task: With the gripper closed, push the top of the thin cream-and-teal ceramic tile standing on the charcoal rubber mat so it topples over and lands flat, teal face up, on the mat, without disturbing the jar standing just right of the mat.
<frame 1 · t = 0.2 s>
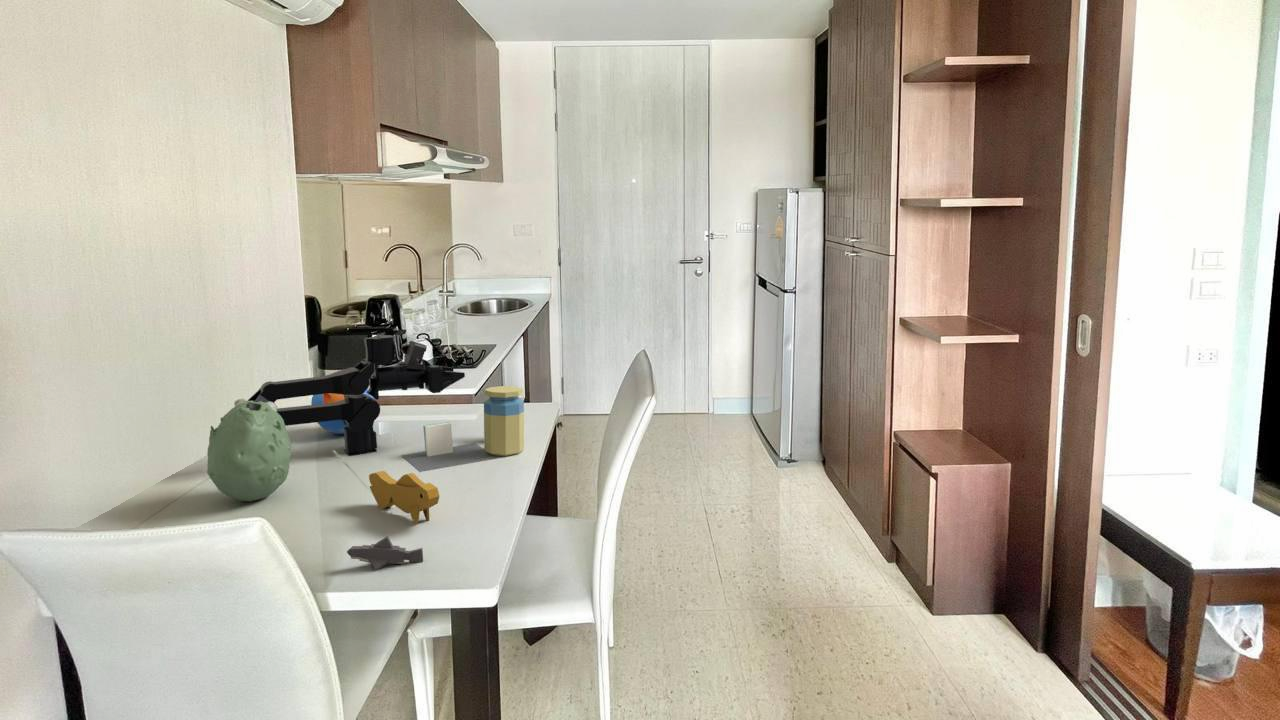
hand: (458, 372, 220), 16 cm above the table, tool horizontal, fingers open, 9 cm apart
mat: (448, 458, 203), on the table
decorative fish: (405, 516, 166), on the table
tile: (439, 453, 206), resting on mat
green rounded lump: (255, 499, 178), on the table
animal figurine: (386, 566, 142), on the table
treat dispenser ball: (345, 433, 230), on the table
jar: (504, 453, 205), on the table, touching mat
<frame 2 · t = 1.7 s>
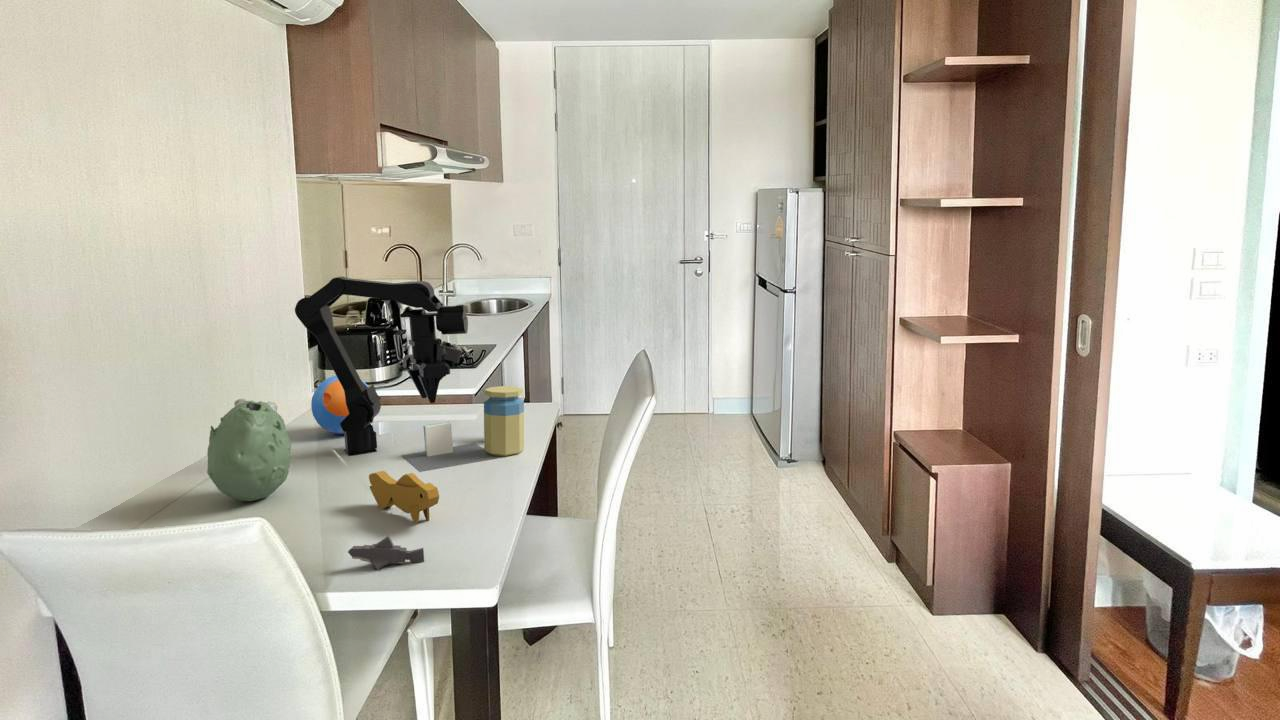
hand: (428, 400, 209), 12 cm above the table, tool pointing down, fingers open, 6 cm apart
nothing on the table moved.
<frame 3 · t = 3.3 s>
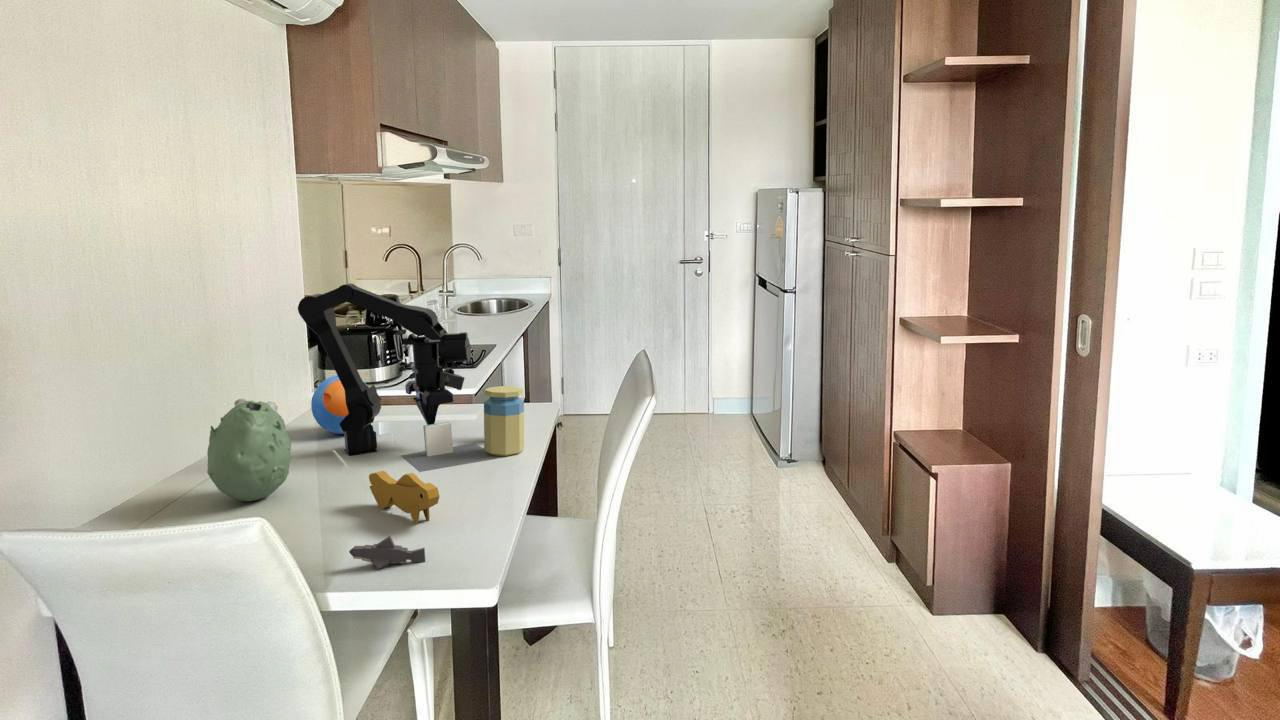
hand: (431, 427, 210), 6 cm above the table, tool pointing down, fingers closed
nothing on the table moved.
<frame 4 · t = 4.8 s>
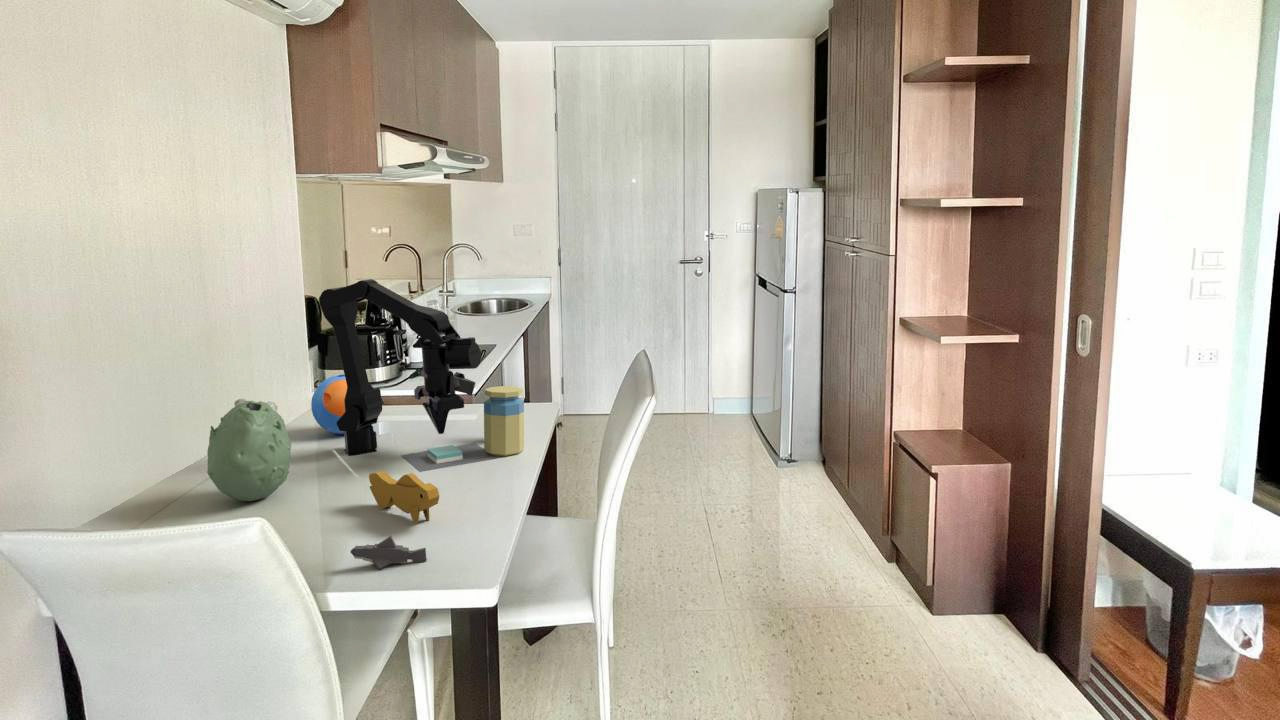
hand: (441, 433, 203), 6 cm above the table, tool pointing down, fingers closed
tile: (440, 450, 205), point 1 cm above the table, tilted 90°, touching mat
everything else where it was.
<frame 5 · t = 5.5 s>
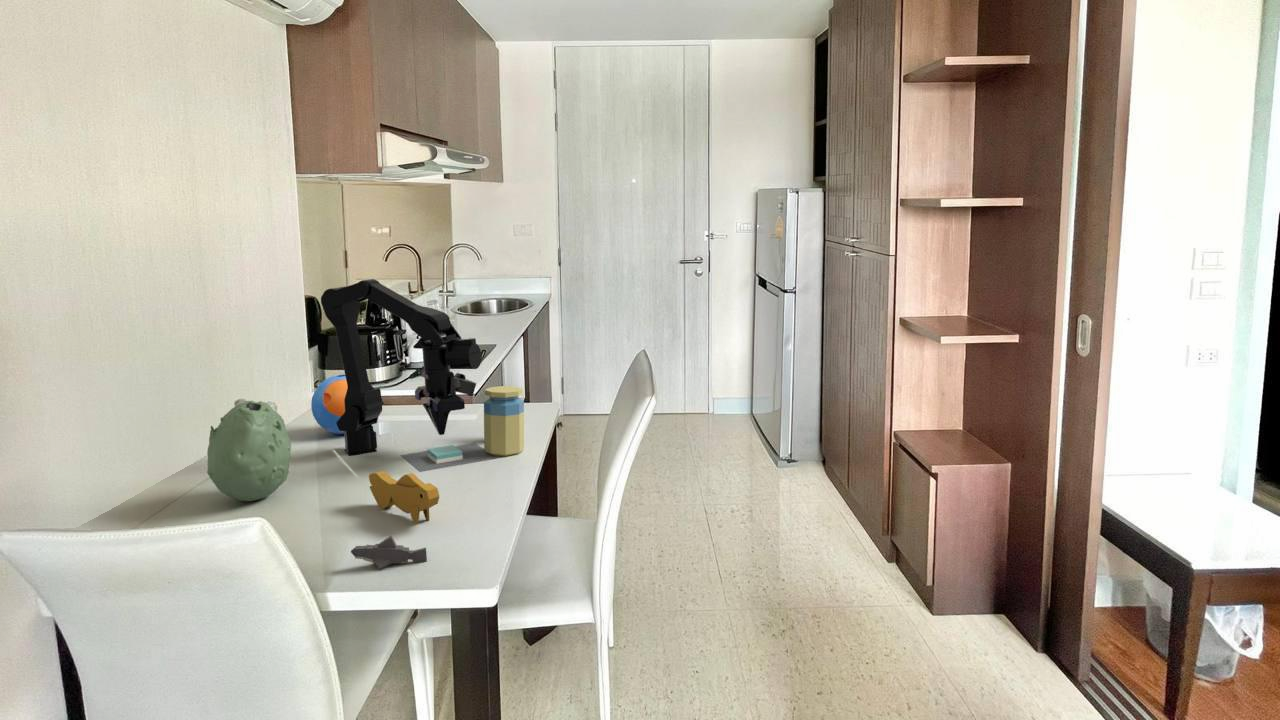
hand: (441, 434, 203), 6 cm above the table, tool pointing down, fingers closed
nothing on the table moved.
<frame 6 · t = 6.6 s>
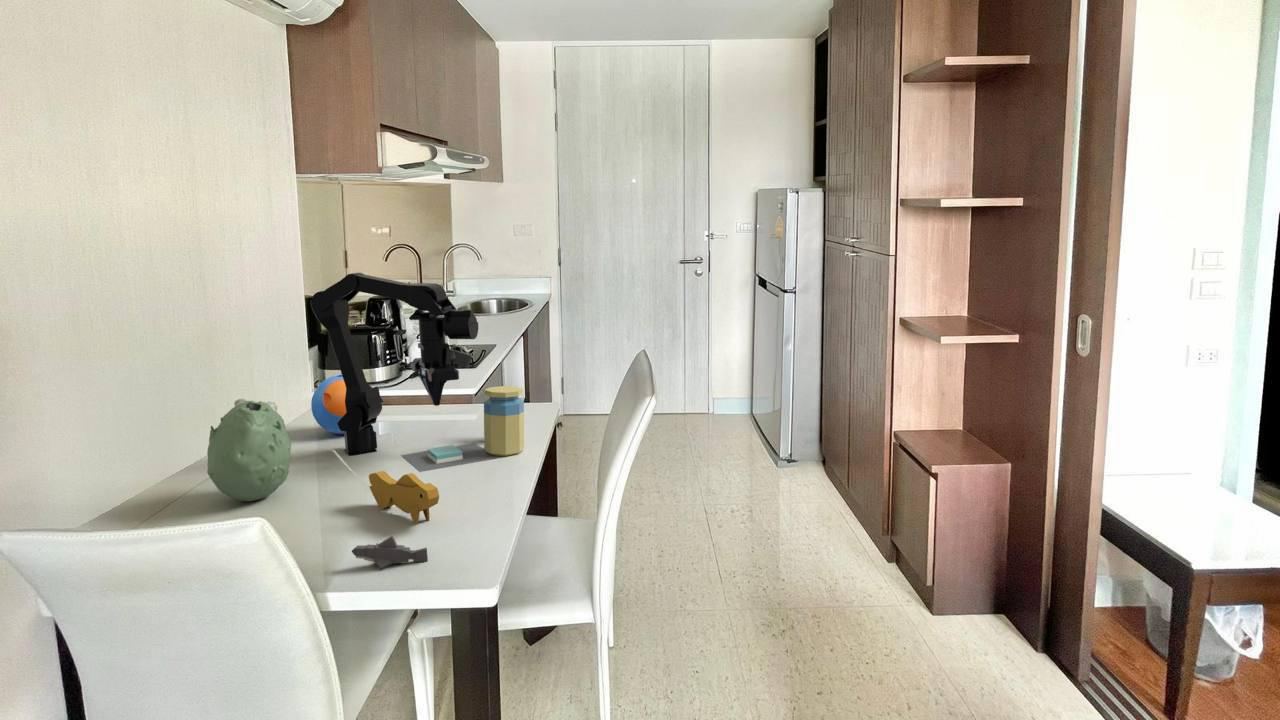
hand: (436, 405, 205), 12 cm above the table, tool pointing down, fingers closed
nothing on the table moved.
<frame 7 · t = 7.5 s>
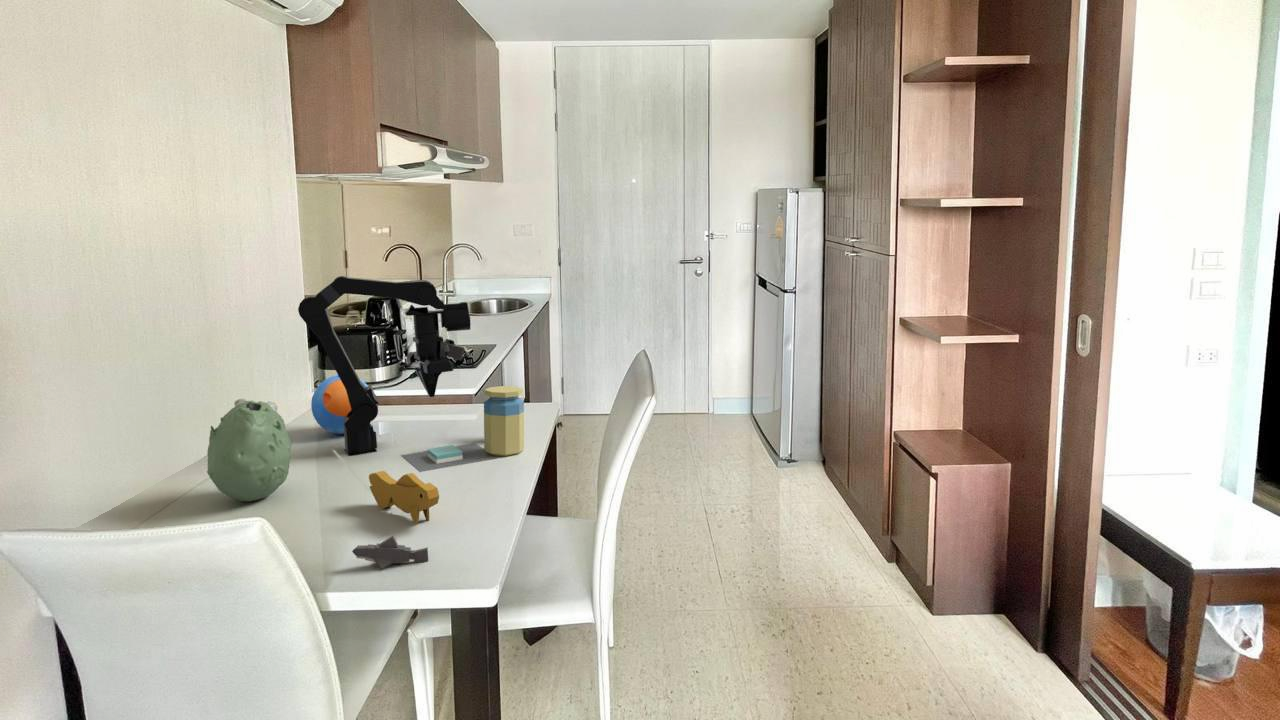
hand: (431, 396, 214), 12 cm above the table, tool pointing down, fingers closed
nothing on the table moved.
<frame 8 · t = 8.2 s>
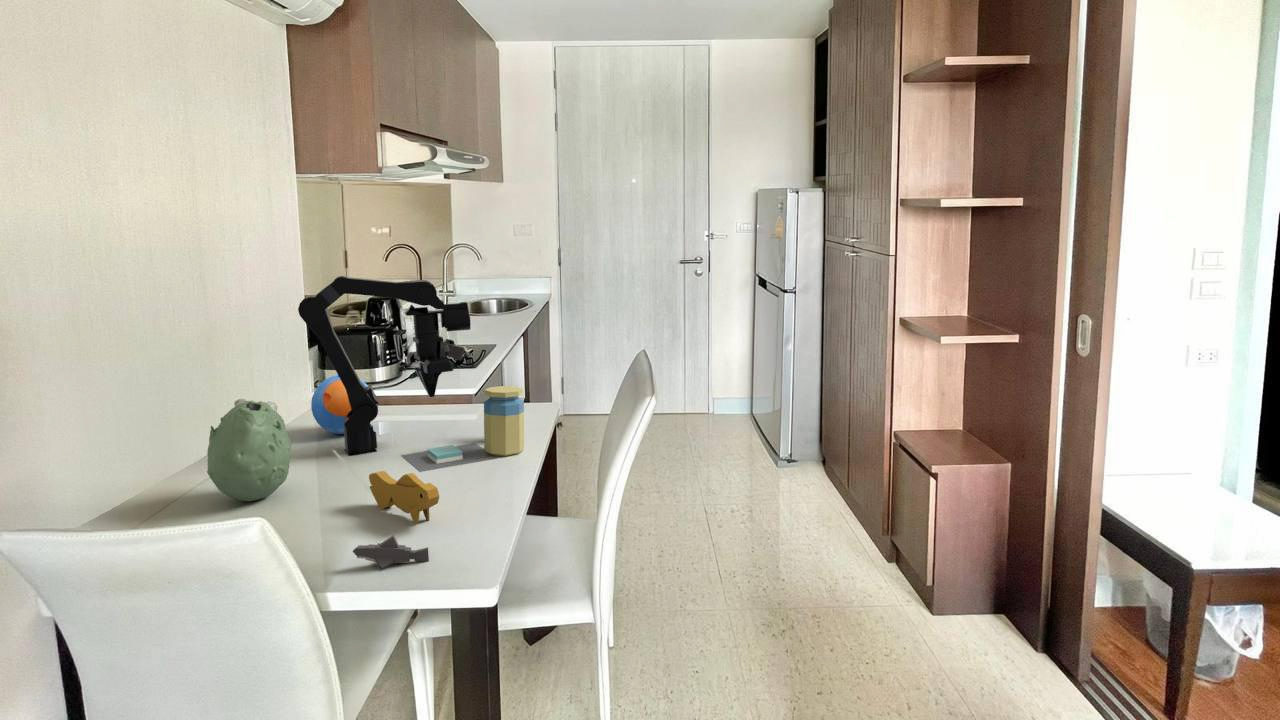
hand: (431, 396, 214), 12 cm above the table, tool pointing down, fingers closed
nothing on the table moved.
at the end: tile tilted 90°; tile inside the target area (3.2 cm from its centre), point 1.3 cm above the table; jar tilted 3° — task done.
